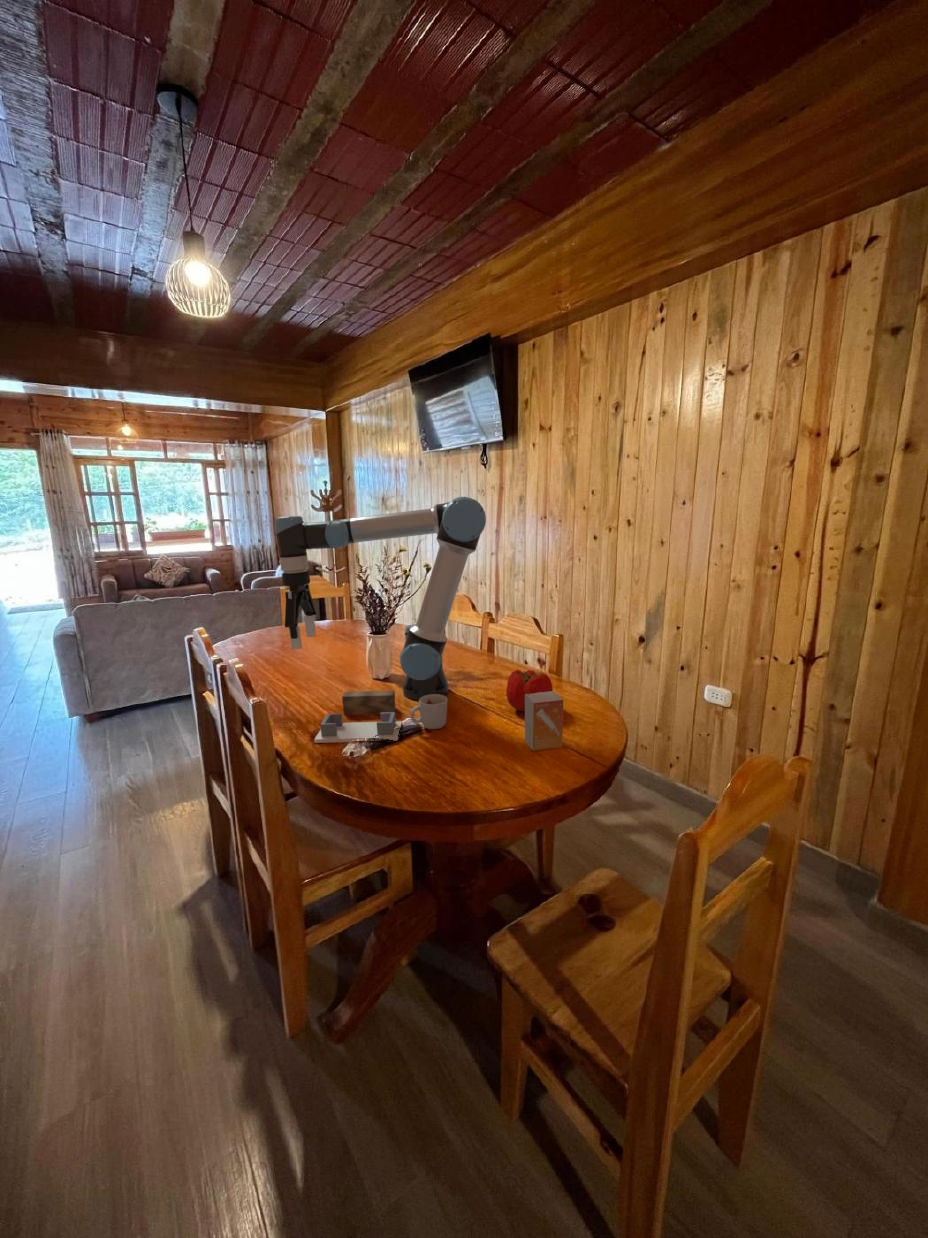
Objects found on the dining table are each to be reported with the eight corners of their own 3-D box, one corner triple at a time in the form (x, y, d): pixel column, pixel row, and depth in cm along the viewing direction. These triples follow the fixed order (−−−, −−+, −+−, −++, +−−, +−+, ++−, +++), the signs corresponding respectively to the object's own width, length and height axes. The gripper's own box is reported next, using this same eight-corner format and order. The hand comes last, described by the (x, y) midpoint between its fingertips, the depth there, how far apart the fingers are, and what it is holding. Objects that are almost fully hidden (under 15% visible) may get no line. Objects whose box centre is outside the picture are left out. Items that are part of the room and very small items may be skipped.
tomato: (560, 706, 152) (560, 669, 149) (532, 722, 141) (532, 683, 139) (524, 696, 160) (524, 661, 158) (496, 710, 150) (495, 673, 148)
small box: (532, 752, 125) (533, 703, 122) (524, 740, 131) (524, 693, 128) (563, 747, 126) (564, 699, 123) (553, 736, 132) (553, 690, 130)
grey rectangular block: (395, 708, 154) (394, 690, 153) (393, 714, 150) (392, 695, 149) (346, 710, 154) (345, 691, 153) (343, 715, 150) (342, 696, 149)
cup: (417, 737, 135) (415, 709, 133) (406, 726, 141) (405, 699, 140) (453, 727, 139) (452, 701, 138) (441, 717, 146) (440, 691, 144)
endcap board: (402, 724, 142) (401, 709, 141) (397, 740, 133) (396, 725, 132) (324, 726, 143) (323, 711, 142) (314, 742, 133) (313, 727, 132)
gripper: (296, 566, 156) (305, 632, 161) (265, 578, 131) (276, 655, 136) (320, 565, 156) (328, 631, 160) (293, 576, 131) (303, 654, 136)
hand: (304, 642), depth 148 cm, fingers open, 13 cm apart
